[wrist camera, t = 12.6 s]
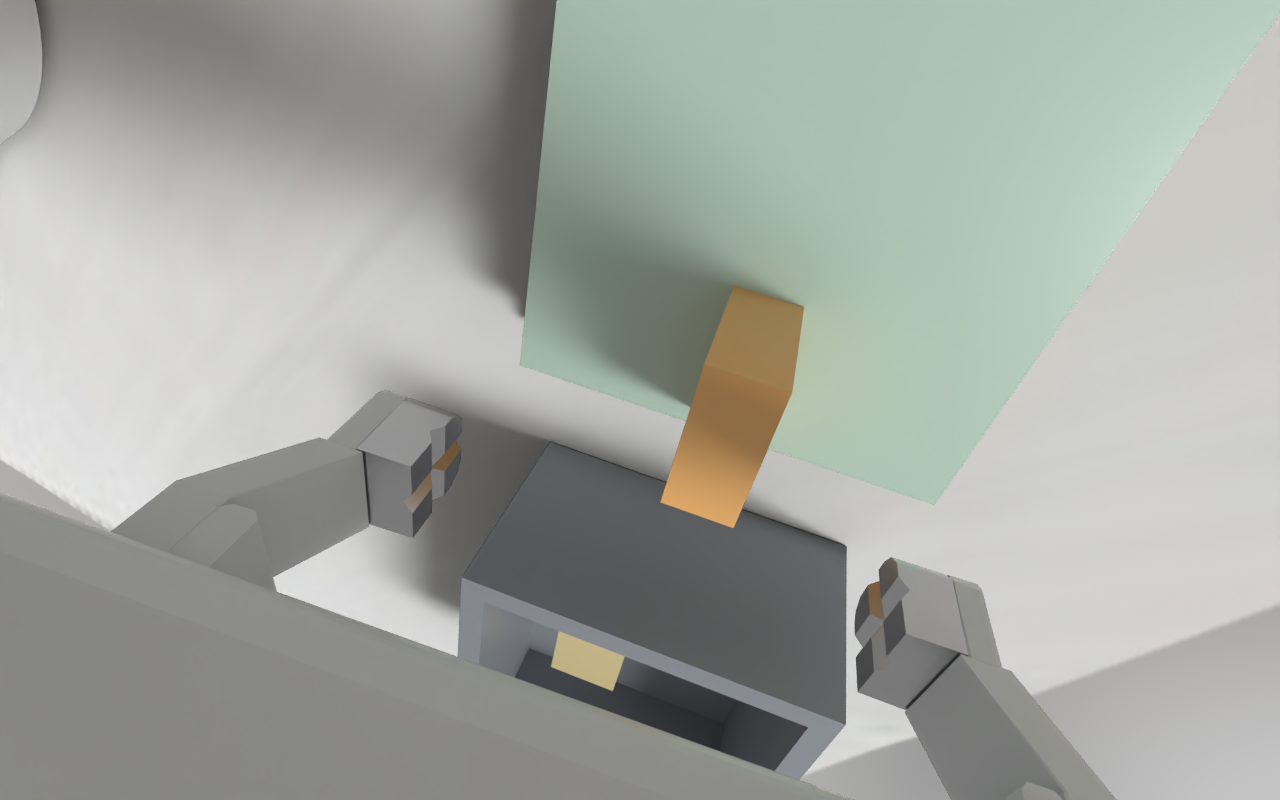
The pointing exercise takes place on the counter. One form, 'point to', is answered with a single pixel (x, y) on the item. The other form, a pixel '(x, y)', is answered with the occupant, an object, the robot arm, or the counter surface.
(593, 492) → the tub
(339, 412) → the counter surface
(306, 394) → the counter surface
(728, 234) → the lid
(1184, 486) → the counter surface
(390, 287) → the counter surface
